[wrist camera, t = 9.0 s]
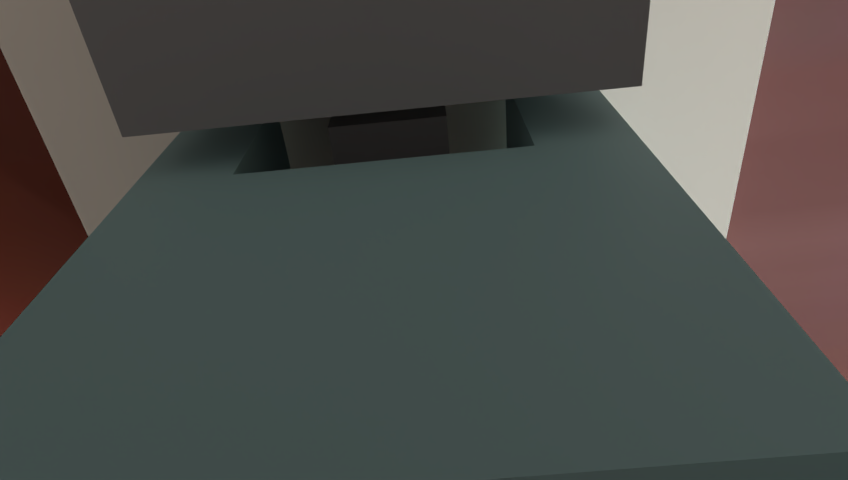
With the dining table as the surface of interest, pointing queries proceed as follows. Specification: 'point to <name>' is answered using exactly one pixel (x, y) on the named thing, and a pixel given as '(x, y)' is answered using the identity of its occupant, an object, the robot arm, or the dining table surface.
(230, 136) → the teal block
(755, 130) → the dining table surface
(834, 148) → the dining table surface
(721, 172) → the cleat board
